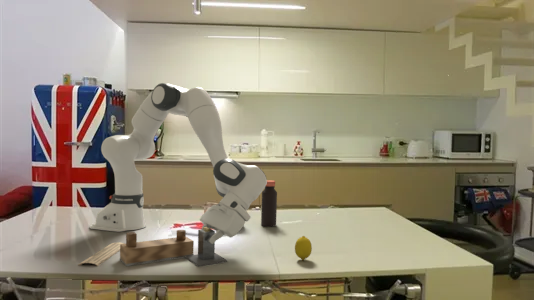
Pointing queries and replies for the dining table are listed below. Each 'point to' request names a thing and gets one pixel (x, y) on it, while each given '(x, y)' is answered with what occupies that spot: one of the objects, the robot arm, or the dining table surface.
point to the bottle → (269, 205)
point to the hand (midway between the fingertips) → (204, 239)
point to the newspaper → (103, 254)
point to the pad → (200, 262)
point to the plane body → (155, 249)
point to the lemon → (303, 247)
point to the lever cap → (205, 244)
